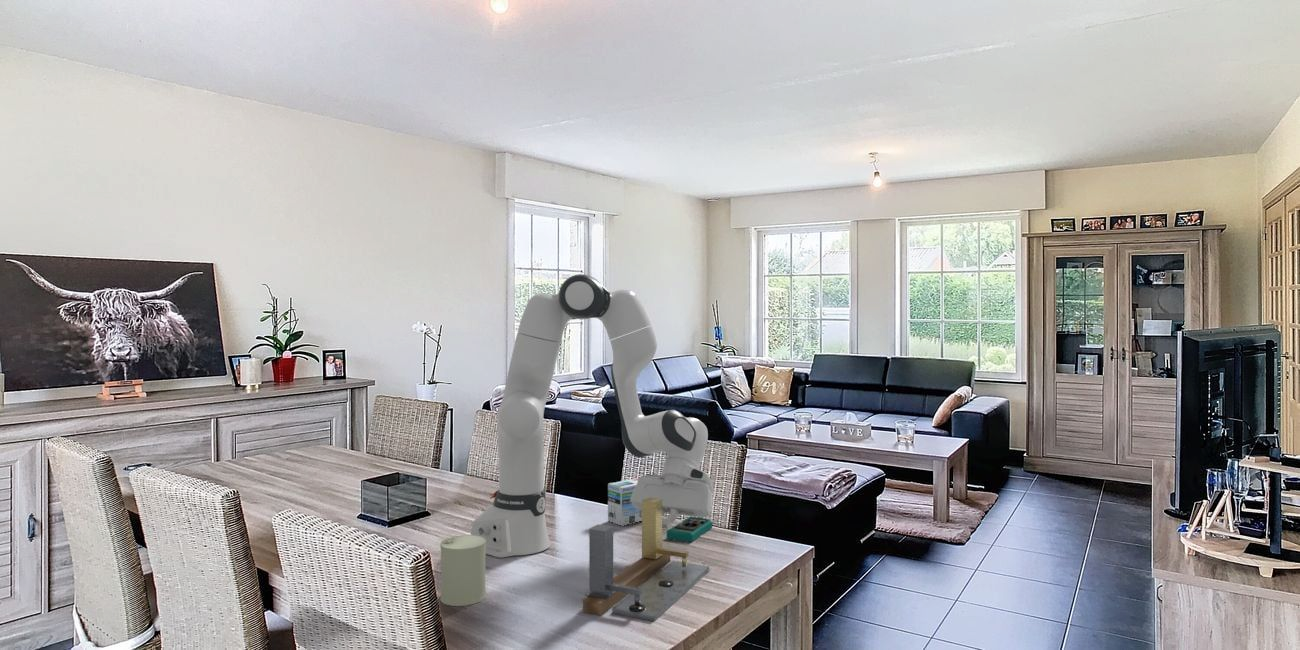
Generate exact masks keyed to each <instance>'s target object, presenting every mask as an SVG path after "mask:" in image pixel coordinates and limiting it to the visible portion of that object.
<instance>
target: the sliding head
mask: <svg viewBox="0 0 1300 650" xmlns="http://www.w3.org/2000/svg"><path fill="white" fill-rule="evenodd" d="M662 519H663V516H662V499H660V498H652V497H648V498H646V499H644V500H642V522H641V558H642V557H643V558H650V559H657V558H658V557H660V556H661V555H662V554H664V555H670V557H671V556H673V557H678V558H681V562H682V567H687V563H688V562H687V560H688V559H687V558H688V557H689V551H684V550H677V549H672V548H664V547H663V528H662Z"/></svg>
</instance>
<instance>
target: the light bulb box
mask: <svg viewBox="0 0 1300 650" xmlns="http://www.w3.org/2000/svg"><path fill="white" fill-rule="evenodd" d="M638 479H639V478H630V479H626V480H625V479H624V480H620V481H616V482H609V483H607V522H609V521H610V523H612V522H613V523H612V524H615V523H616V524H615V525H617V524H618V526H620V525H621V527H625V526H628V525H627V524H629V525H632V523H633V524H636V523H635V522H638V523H640V522H639V521H642V509H636V508H635V507H634V506H633V504H632V503H631V500H630V498H631V495H632V493H633V491H634V489H635V487H636V485H637V482H638ZM624 525H625V526H624Z"/></svg>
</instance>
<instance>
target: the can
mask: <svg viewBox="0 0 1300 650" xmlns="http://www.w3.org/2000/svg"><path fill="white" fill-rule="evenodd" d="M485 548H486V540H485V539H484V538H483V537H480V536H473V535H471V534H468V535H466V534H465V535H456V536H452V537H448V538H446V539H444V540H442V541H441V542H440V597H439V599H440V602H441V603H443V604H444V605H446V606H449V607H450V606H451V607H464V606H465V607H466V606H471V605H475V604H478V603H480V602H482V601H484V600H485V598H486V597H487V589H486V587H487V586H486V554H485Z"/></svg>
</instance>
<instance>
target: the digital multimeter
mask: <svg viewBox="0 0 1300 650" xmlns="http://www.w3.org/2000/svg"><path fill="white" fill-rule="evenodd" d="M710 528H712V529H713V521H712V520H710V519H708V518H703V517H696V516H689V517H686V518H685V519H684V520H683V521H681V522H679V523H678V524H676V525H674V526H673V527H670V528H669V529H667V531H666V538H667V539H668V538H669V540H672V539H675V540H674V541H678V540H681V541H680V542H685V541H688V542H687V543H693V542H694V541H696V540H697V539H699V538H700V537H701V536H703V533H704V534H706V533H707V532H708V531H710V530H711V529H710ZM700 535H701V536H700ZM696 538H697V539H696Z"/></svg>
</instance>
